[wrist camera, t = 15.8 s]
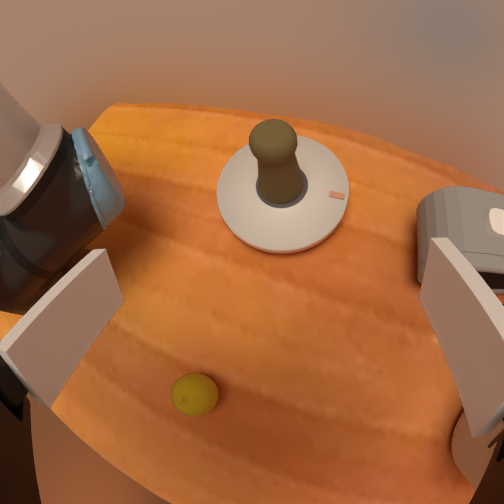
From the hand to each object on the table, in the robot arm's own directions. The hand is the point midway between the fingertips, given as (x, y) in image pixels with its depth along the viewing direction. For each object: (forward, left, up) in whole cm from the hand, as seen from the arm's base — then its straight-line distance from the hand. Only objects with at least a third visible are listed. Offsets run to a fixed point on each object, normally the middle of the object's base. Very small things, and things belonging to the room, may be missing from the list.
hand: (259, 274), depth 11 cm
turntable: (-5, +17, -26) cm, 31 cm away
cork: (-5, +17, -24) cm, 29 cm away
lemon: (-8, -12, -28) cm, 32 cm away
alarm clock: (+24, +14, -28) cm, 39 cm away
